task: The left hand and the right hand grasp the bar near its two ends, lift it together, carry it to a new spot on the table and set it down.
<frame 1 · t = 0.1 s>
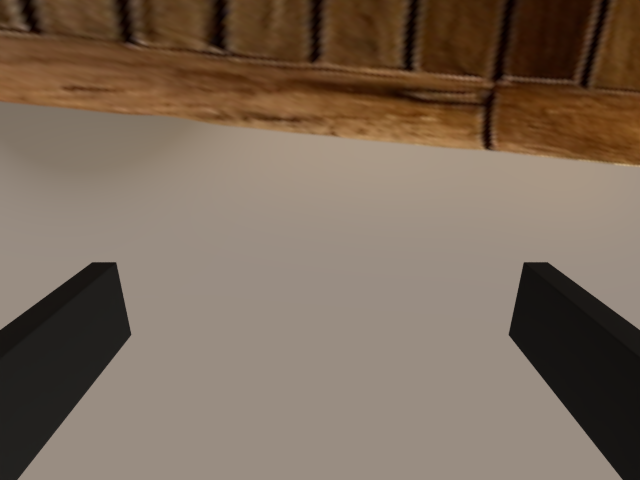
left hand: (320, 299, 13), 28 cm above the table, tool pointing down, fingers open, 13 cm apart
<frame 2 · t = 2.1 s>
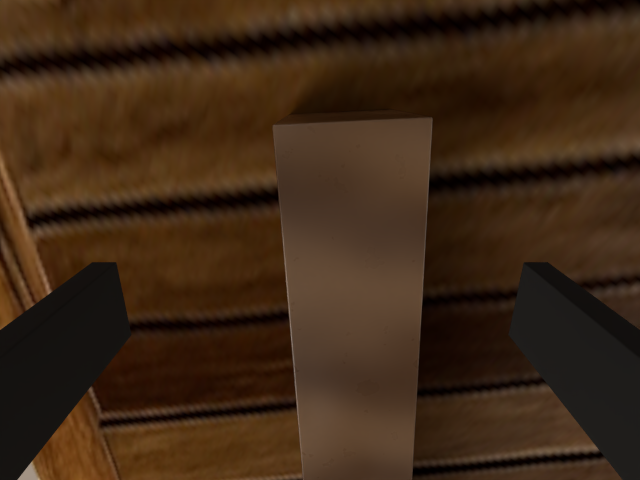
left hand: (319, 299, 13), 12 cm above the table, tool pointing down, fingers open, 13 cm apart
bar: (348, 432, 30), on the table
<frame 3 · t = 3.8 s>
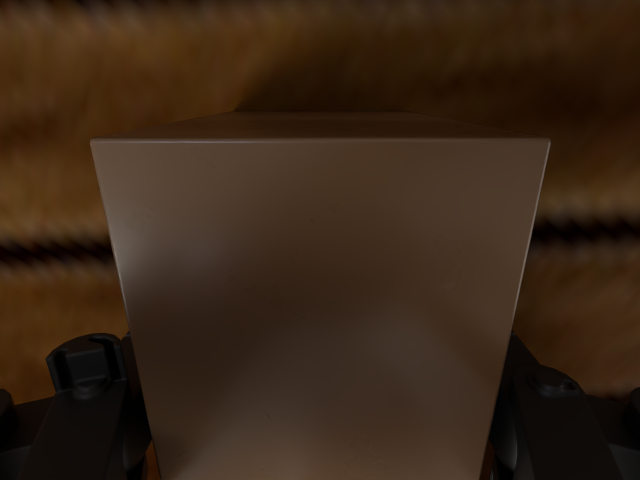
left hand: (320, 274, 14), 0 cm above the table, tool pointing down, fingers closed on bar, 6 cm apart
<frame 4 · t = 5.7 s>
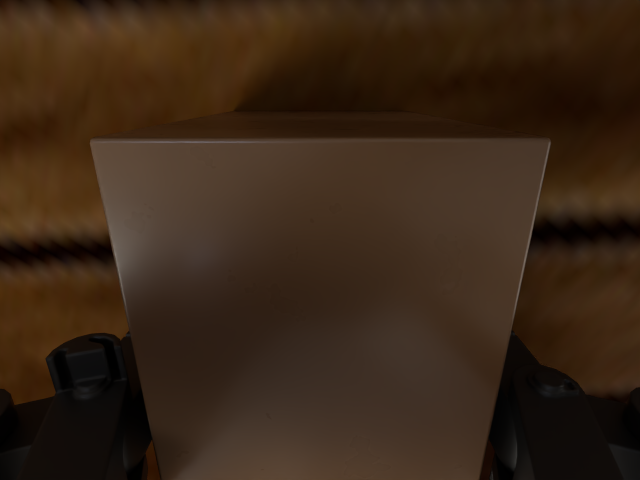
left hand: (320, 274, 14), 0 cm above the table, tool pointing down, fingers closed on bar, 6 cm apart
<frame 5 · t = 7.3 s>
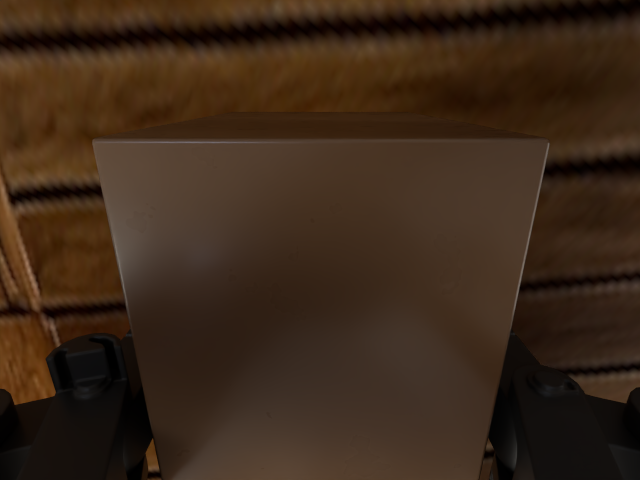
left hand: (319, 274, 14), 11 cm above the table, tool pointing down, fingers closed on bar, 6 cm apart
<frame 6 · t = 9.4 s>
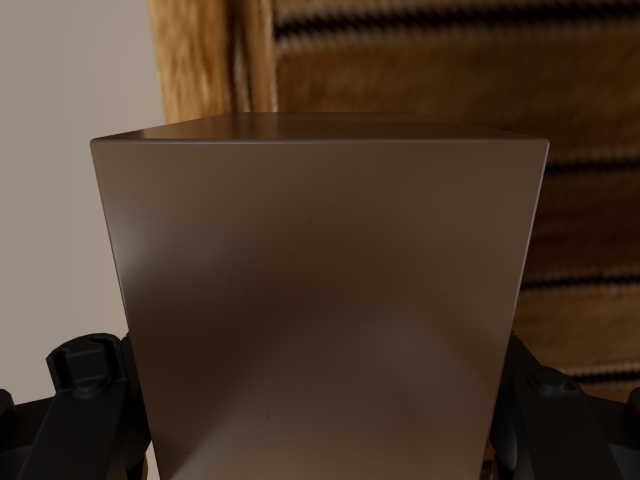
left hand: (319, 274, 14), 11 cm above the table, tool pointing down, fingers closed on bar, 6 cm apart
when the left hand's fingers open (2 cm above the table, at t = 10.9 s): bar drops 1 cm, on the table.
when the right hand's fingers open (2 cm above the table, at t = 10.9 s): bar drops 1 cm, on the table.
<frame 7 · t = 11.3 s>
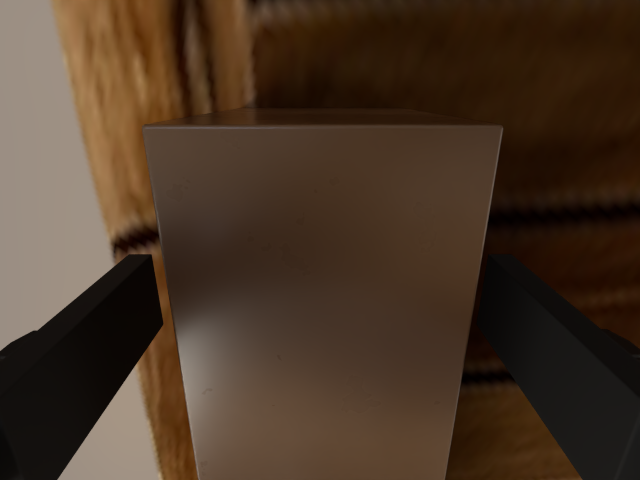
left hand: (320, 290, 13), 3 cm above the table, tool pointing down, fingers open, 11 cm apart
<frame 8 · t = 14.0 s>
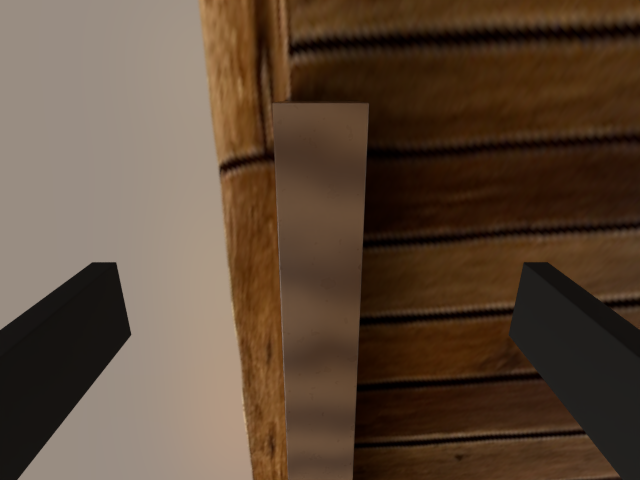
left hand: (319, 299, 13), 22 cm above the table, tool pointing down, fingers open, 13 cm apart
bar: (320, 349, 40), on the table
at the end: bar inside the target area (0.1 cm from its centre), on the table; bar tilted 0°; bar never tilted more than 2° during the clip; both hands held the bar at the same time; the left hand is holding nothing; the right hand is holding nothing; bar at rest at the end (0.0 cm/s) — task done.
